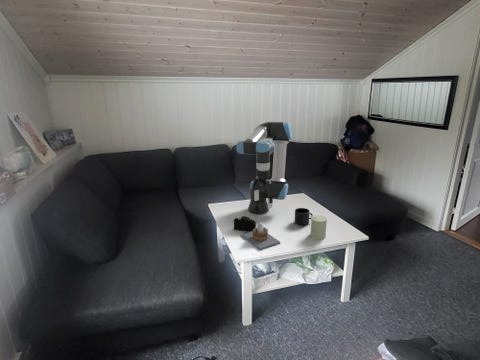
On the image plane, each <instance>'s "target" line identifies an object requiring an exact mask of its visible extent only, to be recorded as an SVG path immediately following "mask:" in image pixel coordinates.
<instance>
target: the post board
mask: <svg viewBox="0 0 480 360" xmlns="http://www.w3.org/2000/svg"><path fill="white" fill-rule="evenodd" d="M256 227H257V232H263V227H264V224H263V222H258V224H256ZM241 237H242V238H244V239H245V240H246V241H248V242H249V243H250V244H251V245H253V246H254V247H255V248H257V249H258V250H259V251H262V250H265V249H268V248H272V247H274V246H276V245H280V244H281V241H280V240H279V239H277V238H275V237H274V236H273V235H271V234H270V233H268V238H267V240H265V241H256V240H254V239H253V231H251V232H244V233H241Z"/></svg>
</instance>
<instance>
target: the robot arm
mask: <svg viewBox="0 0 480 360" xmlns="http://www.w3.org/2000/svg"><path fill="white" fill-rule="evenodd" d="M292 130H293V129H292V126H291V123H290V122H287V121H267V122H262V123H261V124H259V125H257V126H256V127H255V128H254V130H253V132H252V133H251V134H250V135H249V136H248V137H247V138H246V139H245V140H240V141H237V143H236V146H235V147H236V152H237V154H240V155H241V154H242V155H256V156H255V157H256V159H255V160H256V161H255V162H256V170H255V173H256V174H254V179H253V180H252V181H251V182H250V187H249V188H250V194H249V195H250V200H249V205H248V206H247V207H248V208H247V210H248V213H249V214H253V215H264V214H268V213H269V211H270V209H272V208H273V201H274V200H278V201H280V200H281V201H283V200H285V199H286V198H287V196H288V195H287V194H288V191H289V190H288V189H289V183H287V180H286V179H285V174H286V173H285V172H286V161H287V158H286V157H287V145H288V144H289V143H290V140H292V138H293V132H292ZM264 139H267V140H266V141H264ZM268 139H270V140H272V141H270V140H268ZM272 154H273V156H272V157H273V161H272V173H271V171H270V168H271V161H270V160H271V155H272ZM270 173H271V174H272V175H271V174H270ZM270 175H271V178H270V179H269V177H270Z"/></svg>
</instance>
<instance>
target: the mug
mask: <svg viewBox="0 0 480 360" xmlns="http://www.w3.org/2000/svg"><path fill="white" fill-rule="evenodd" d="M310 215H311V217H312V216H314V214H313V213H311V212H310V209H308V208H305V207H297V208H296V209H294V224H295V225H297V226H300V227H306V226H309V224H310V220H311V217H310Z"/></svg>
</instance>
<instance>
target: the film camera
mask: <svg viewBox="0 0 480 360" xmlns="http://www.w3.org/2000/svg"><path fill="white" fill-rule="evenodd" d="M256 227H257V220H254V219H252V218H250V217H249V216H245V215H242V216H241V217H240V218H238V217H235V218H234V219H233V230H234V231H239V232H245V233H247V232H251V231H253V229H254V228H256Z"/></svg>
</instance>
